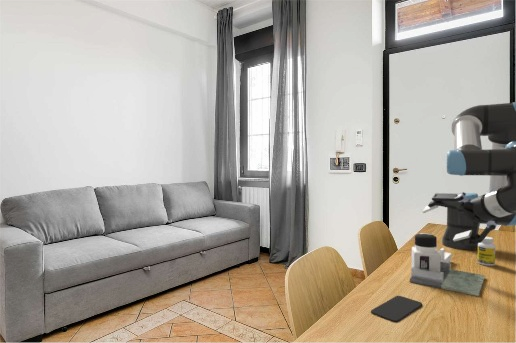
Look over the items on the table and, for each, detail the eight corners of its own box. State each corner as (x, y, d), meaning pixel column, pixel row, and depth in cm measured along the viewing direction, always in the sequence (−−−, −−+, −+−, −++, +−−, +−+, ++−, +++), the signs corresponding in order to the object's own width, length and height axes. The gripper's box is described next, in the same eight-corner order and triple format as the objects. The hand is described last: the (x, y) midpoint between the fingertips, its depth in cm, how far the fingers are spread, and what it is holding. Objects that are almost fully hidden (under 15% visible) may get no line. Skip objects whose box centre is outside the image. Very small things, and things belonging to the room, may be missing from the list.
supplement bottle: (476, 264, 124) (476, 237, 124) (478, 260, 128) (479, 235, 128) (493, 267, 121) (494, 240, 120) (496, 263, 125) (496, 237, 124)
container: (440, 278, 108) (440, 237, 107) (414, 275, 110) (414, 236, 110) (436, 270, 115) (436, 232, 114) (411, 268, 117) (411, 231, 117)
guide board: (423, 267, 121) (423, 256, 121) (484, 278, 110) (484, 266, 110) (409, 281, 107) (409, 269, 107) (478, 296, 96) (478, 282, 96)
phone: (368, 311, 87) (397, 294, 96) (368, 314, 87) (397, 297, 96) (396, 321, 81) (424, 303, 91) (396, 325, 81) (424, 306, 91)
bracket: (442, 271, 118) (442, 250, 117) (420, 267, 122) (421, 246, 122) (451, 262, 127) (451, 242, 127) (431, 258, 132) (431, 239, 132)
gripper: (455, 183, 96) (407, 205, 115) (524, 245, 94) (463, 257, 112) (465, 167, 100) (417, 191, 119) (531, 227, 97) (472, 242, 116)
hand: (439, 223), depth 116 cm, fingers open, 13 cm apart
